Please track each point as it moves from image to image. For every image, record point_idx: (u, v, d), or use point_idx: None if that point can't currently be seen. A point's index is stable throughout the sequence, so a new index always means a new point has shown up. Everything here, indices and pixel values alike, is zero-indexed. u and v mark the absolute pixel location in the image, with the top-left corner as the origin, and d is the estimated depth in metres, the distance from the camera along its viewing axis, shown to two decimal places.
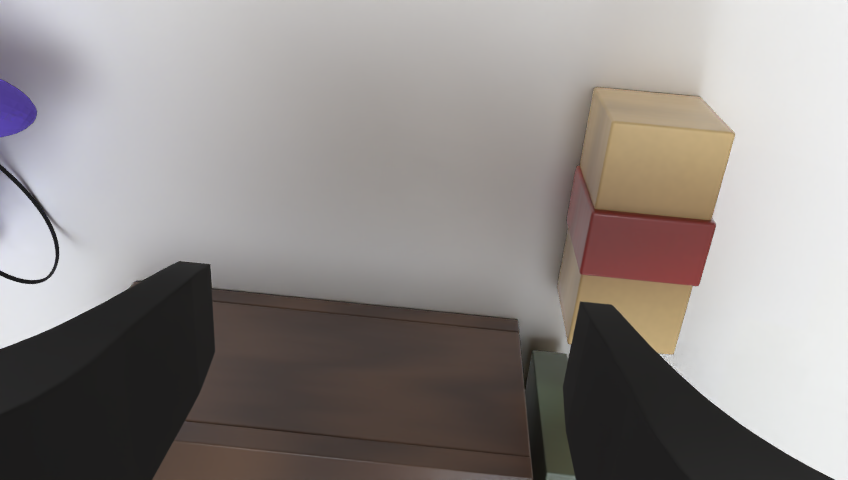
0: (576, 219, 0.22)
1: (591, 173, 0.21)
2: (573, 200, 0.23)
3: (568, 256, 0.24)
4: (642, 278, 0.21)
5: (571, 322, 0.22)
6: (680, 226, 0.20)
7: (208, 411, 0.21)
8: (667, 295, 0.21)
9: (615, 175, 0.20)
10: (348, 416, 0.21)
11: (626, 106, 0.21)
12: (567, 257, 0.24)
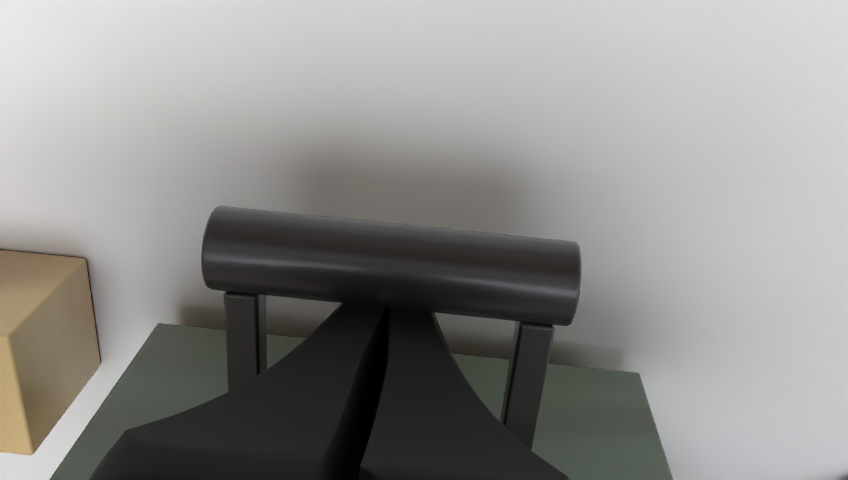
0: None
1: None
2: None
3: None
4: None
5: (1, 450, 0.17)
6: None
7: None
8: None
9: None
10: None
11: None
12: None
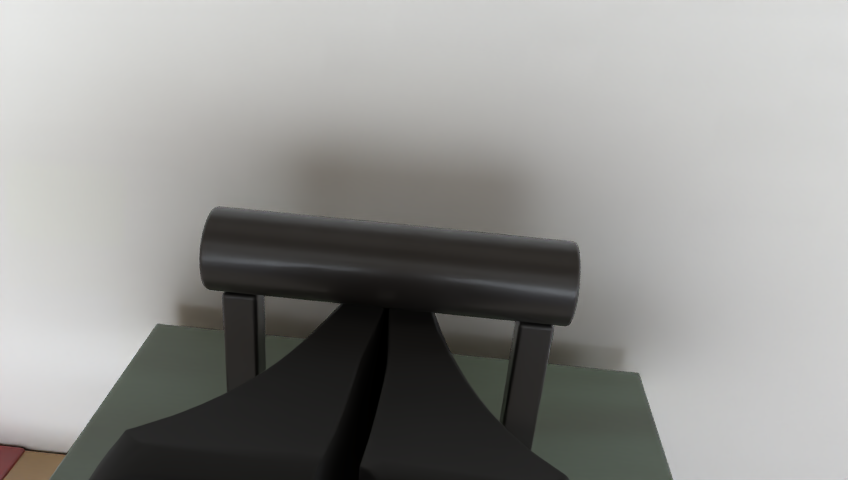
0: None
1: None
2: None
3: None
4: None
5: None
6: None
7: None
8: None
9: None
10: None
11: None
12: None
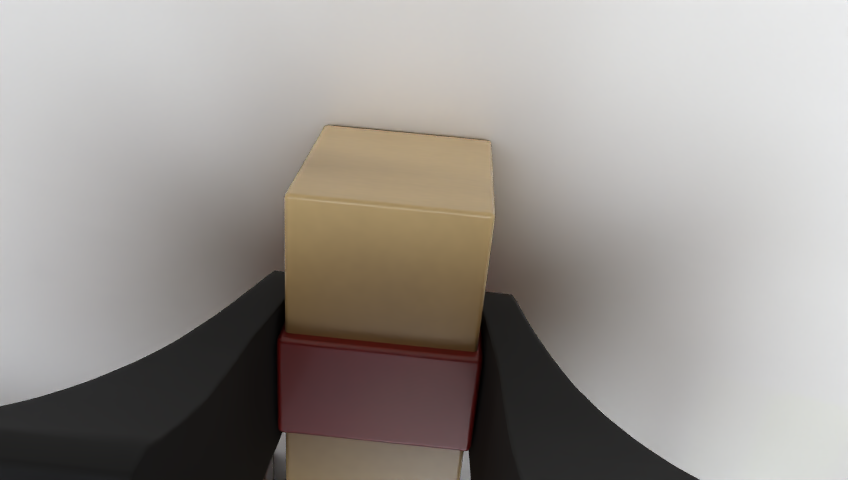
0: None
1: None
2: None
3: None
4: (376, 438, 0.13)
5: None
6: (422, 363, 0.12)
7: None
8: (426, 461, 0.13)
9: (306, 281, 0.12)
10: None
11: (341, 162, 0.13)
12: None
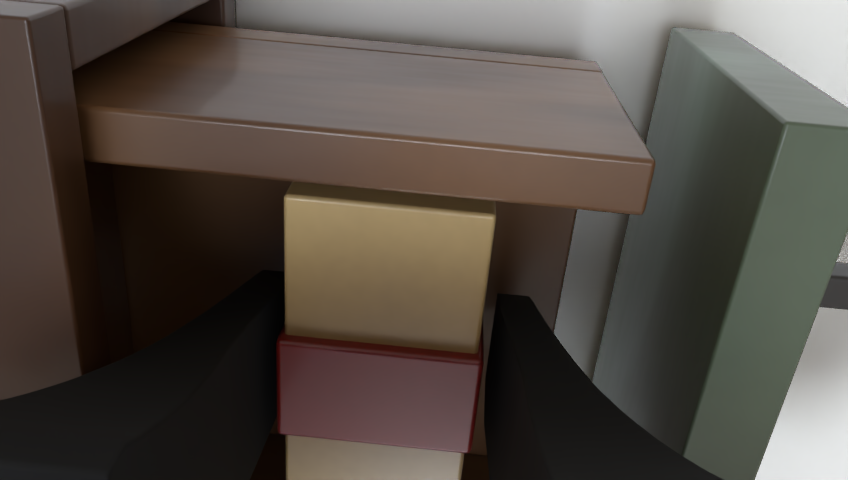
0: None
1: None
2: None
3: None
4: (376, 441, 0.13)
5: None
6: (423, 364, 0.12)
7: None
8: (426, 464, 0.13)
9: (306, 282, 0.12)
10: None
11: None
12: None
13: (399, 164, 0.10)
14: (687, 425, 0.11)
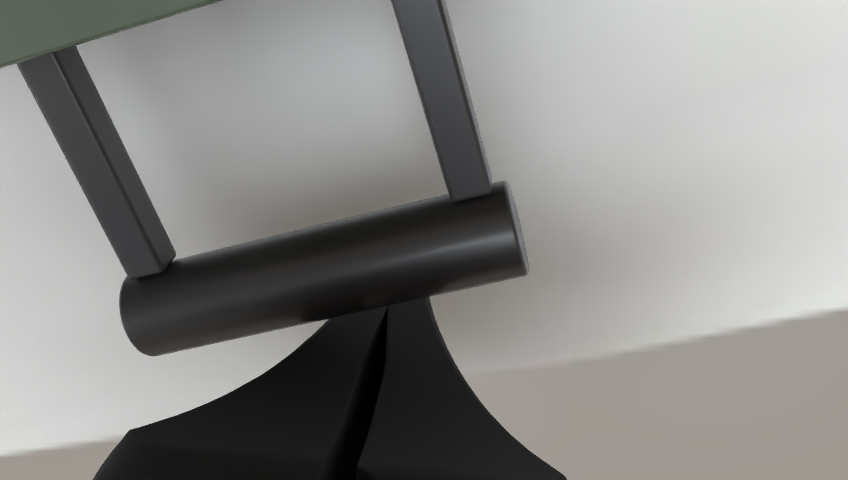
0: None
1: None
2: None
3: None
4: None
5: None
6: None
7: None
8: None
9: None
10: None
11: None
12: None
13: None
14: None
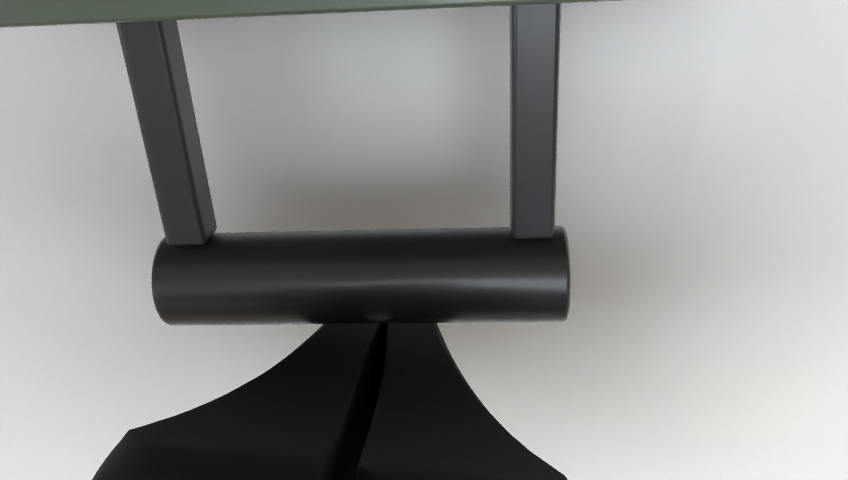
0: None
1: None
2: None
3: None
4: None
5: None
6: None
7: None
8: None
9: None
10: None
11: None
12: None
13: None
14: None
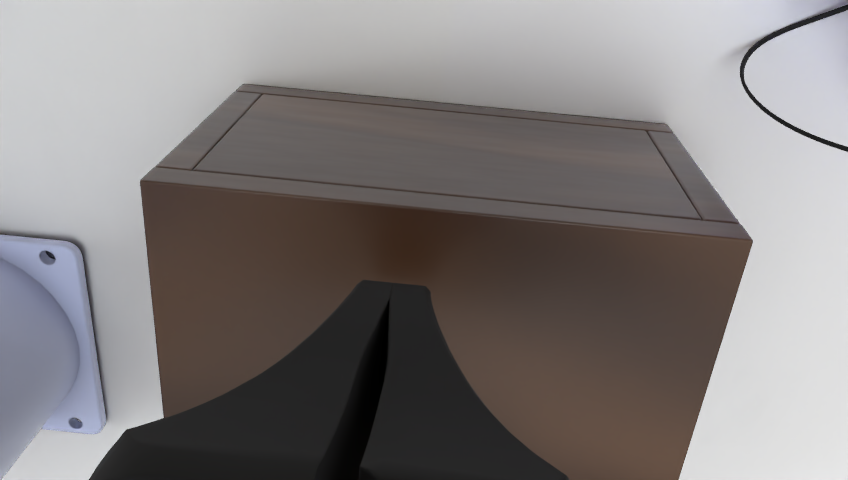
0: None
1: None
2: None
3: None
4: None
5: None
6: None
7: None
8: None
9: None
10: None
11: None
12: None
13: None
14: None
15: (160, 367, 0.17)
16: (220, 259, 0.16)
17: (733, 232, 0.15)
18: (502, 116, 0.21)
